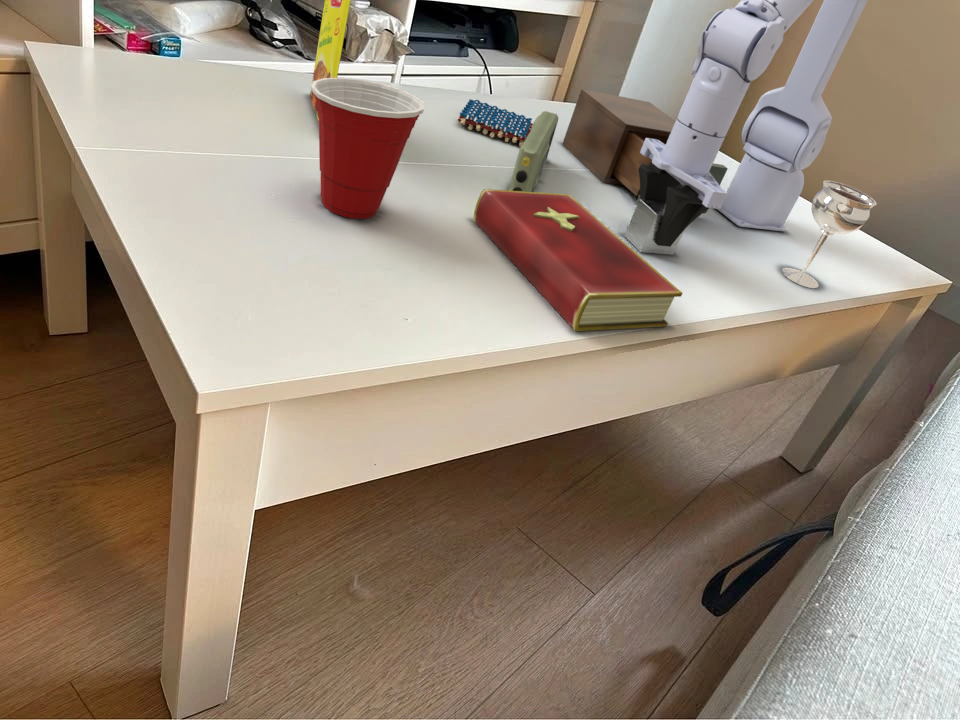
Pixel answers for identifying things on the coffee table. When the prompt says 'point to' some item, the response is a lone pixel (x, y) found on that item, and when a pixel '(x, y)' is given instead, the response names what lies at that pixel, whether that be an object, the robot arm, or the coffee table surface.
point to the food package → (330, 42)
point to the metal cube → (648, 228)
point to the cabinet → (610, 129)
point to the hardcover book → (575, 260)
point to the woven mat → (496, 121)
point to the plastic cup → (360, 141)
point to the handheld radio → (534, 153)
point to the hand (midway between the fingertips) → (652, 235)
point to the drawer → (646, 162)
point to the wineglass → (833, 220)
